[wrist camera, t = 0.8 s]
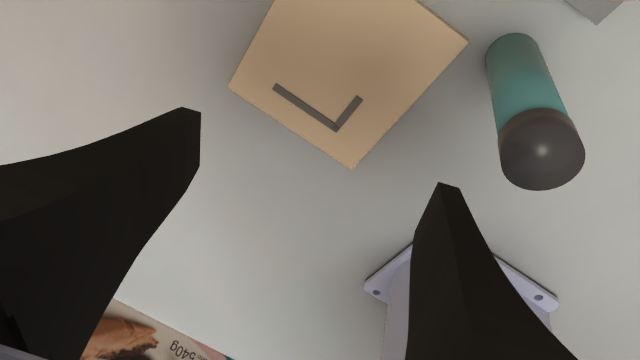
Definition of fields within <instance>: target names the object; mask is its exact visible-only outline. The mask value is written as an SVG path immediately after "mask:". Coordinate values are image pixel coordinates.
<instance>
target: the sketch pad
mask: <svg viewBox="0 0 640 360" xmlns="http://www.w3.org/2000/svg"><path fill="white" fill-rule="evenodd" d="M468 43H469V40H468V39H467V38H465V37H464V36H463V35H462V34H460V33H459V32H458V31H456V30H455V29H454V28H452V27H451V26H450V25H449V24H447V23H446V22H445V21H443V20H442V19H441V18H440V17H438V16H437V15H436V14H434V13H433V12H432V11H430V10H429V9H428V8H427V7H425V6H424V5H423V4H421V3H420V2H419V1H418V0H274V2H273V4H272V6H271V8H270V10H269V11H268V13H267V15H266V17H265V19H264V20H263V22H262V24H261V26H260V28H259V30H258V31H257V33H256V35H255V37H254V39H253V41H252V42H251V44H250V46H249V48H248V50H247V51H246V53H245V55H244V57H243V59H242V61H241V62H240V64H239V66H238V68H237V70H236V72H235V73H234V75H233V77H232V79H231V81H230V82H229V84H228V86H227V88H229V89H230V90H232V91H233V92H235V93H236V94H238V95H239V96H241V97H242V98H244V99H245V100H247V101H248V102H250V103H251V104H253V105H254V106H256V107H257V108H259V109H260V110H262V111H263V112H265V113H266V114H268V115H269V116H271V117H272V118H274V119H275V120H277V121H278V122H280V123H281V124H283V125H284V126H286V127H287V128H289V129H290V130H292V131H293V132H295V133H296V134H298V135H299V136H301V137H302V138H304V139H305V140H307V141H308V142H310V143H311V144H313V145H314V146H316V147H317V148H319V149H320V150H322V151H323V152H325V153H327V154H328V155H330V156H331V157H333V158H334V159H336V160H337V161H339V162H340V163H342V164H343V165H345V166H346V167H348V168H349V169H351V170H352V169H353V168H354V167H355V166H356V165H357V164H358V162H359V161H360V160H361V159H362V158H363V157H364V156H365V155H366V154H367V153H368V152H369V151H370V149H371V148H372V147H373V146H374V145H375V144H376V143H377V142H378V141H379V140H380V139H381V138H382V136H383V135H384V134H385V133H386V132H387V131H388V130H389V129H390V128H391V127H392V126H393V125H394V123H395V122H396V121H397V120H398V119H399V118H400V117H401V116H402V115H403V114H404V113H405V112H406V110H407V109H408V108H409V107H410V106H411V105H412V104H413V103H414V102H415V101H416V100H417V99H418V97H419V96H420V95H421V94H422V93H423V92H424V91H425V90H426V89H427V88H428V87H429V86H430V84H431V83H432V82H433V81H434V80H435V79H436V78H437V77H438V76H439V75H440V74H441V73H442V71H443V70H444V69H445V68H446V67H447V66H448V65H449V64H450V63H451V62H452V61H453V60H454V58H455V57H456V56H457V55H458V54H459V53H460V52H461V51H462V50H463V49H464V48H465V47H466V45H467V44H468Z"/></svg>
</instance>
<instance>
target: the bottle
mask: <svg viewBox="0 0 640 360" xmlns="http://www.w3.org/2000/svg"><path fill="white" fill-rule="evenodd" d="M485 64H486V70H487V76H488V82H489V87H490V93H491V99H492V105H493V111H494V116H495V122H496V128H497V134H498V149H499V155H500V161H501V167H502V171H503V173H504V175H505V176H506V178H507V179H508V180H509V181H510V182H511V183H513V184H514V185H516V186H518V187H520V188H523V189H527V190H534V191H541V190H549V189H553V188H557V187H559V186H562V185H564V184H566V183H567V182H569V181H570V180H572V179H573V178H574V177H575V176H576V175H577V174H578V173H579V171H580V170H581V168H582V167H583V164H584V161H585V149H584V146H583V144H582V141H581V139H580V137H579V135H578V132H577V130H576V128H575V126H574V124H573V122H572V120H571V119H570V118H569V116H568V114H567V112H566V109H565V107H564V105H563V102H562V100H561V98H560V96H559V93H558V91H557V89H556V86H555V84H554V82H553V79H552V77H551V75H550V72H549V70H548V68H547V66H546V63H545V61H544V59H543V56H542V54H541V52H540V49H539V47H538V45H537V43H536V42H535V40H533V39H532V38H531V37H530V36H528V35H525V34H521V33H512V34H508V35H505V36H502V37H501V38H499V39H497V40H496V41H495V42H494V43H493V44H492V45H491V46H490V48H489V49H488V51H487V54H486V58H485Z"/></svg>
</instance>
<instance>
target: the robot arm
mask: <svg viewBox="0 0 640 360" xmlns="http://www.w3.org/2000/svg"><path fill="white" fill-rule="evenodd" d="M200 130H201V112H198V111H194V110H191V109H187V108H184V107H180V108H177V109H174V110H172V111H170V112H167V113H165V114H163V115H160V116H158V117H156V118H153V119H151V120H149V121H147V122H144V123H142V124H140V125H137V126H135V127H132V128H130V129H128V130H125V131H123V132H120V133H118V134H115V135H112V136H110V137H107V138H104V139H102V140H99V141H96V142H94V143H91V144H88V145H85V146H82V147H78V148H75V149H72V150H68V151H64V152H61V153H57V154H53V155H50V156H45V157H40V158H36V159H31V160H26V161H22V162H17V163H12V164H6V165H0V360H80V358H81V356H82V354H83V352H84V350H85V348H86V346H87V344H88V342H89V340H90V338H91V336H92V334H93V333H94V331H95V329H96V327H97V325H98V323H99V321H100V319H101V318H102V316H103V314H104V312H105V310H106V308H107V307H108V305H109V303H110V301H111V300H112V298H113V296H114V294H115V293H116V291H117V289H118V287H119V286H120V284H121V282H122V280H123V279H124V277H125V275H126V274H127V272H128V270H129V269H130V267H131V265H132V264H133V262H134V260H135V259H136V257H137V256H138V254H139V253H140V251H141V250H142V249H143V247H144V246H145V244H146V243H147V242H148V240H149V239H150V238H151V237H152V235H153V234H154V233H155V231H156V230H157V229H158V227H159V226H160V225H161V224H162V222H163V221H164V220H165V218H166V217H167V216H168V214H169V213H170V212H171V211H172V209H173V208H174V207H175V205H176V204H177V203H178V201H179V200H180V199H181V197H182V196H183V195H184V193H185V192H186V190H187V188H188V187H189V185H190V183H191V181H192V179H193V178H194V176H195V174H196V172H197V170H198V168H199V166H200ZM363 289H364V290H365V291H366V292H367V293H369V294H371V295H372V296H374V297H375V298H377V299H379V300H380V301H382V302H384V303H385V304H387V305H388V306H387V314H386V323H385V331H384V339H383V347H382V355H381V360H578V359H577V358H576V357H575V356H574V355H573V354H572V353H571V352H570V351H569V350H568V349H567V348H566V347H565V346H564V345H563V344H562V343H561V342H560V341H559V340H558V339H557V338H556V337H555V336H554V335H553V333H552V329H551V324H550V319H549V314H548V313H550V312H552V311H554V310H556V309H557V308H559V306H560V304H559V300H558V299H557V298H556V297H555V296H553V295H552V294H550V293H549V292H547V291H546V290H544V289H543V288H541V287H540V286H538V285H537V284H536V283H534V282H533V281H531V280H530V279H528V278H527V277H525V276H524V275H522V274H521V273H519V272H518V271H516V270H515V269H513V268H512V267H510V266H509V265H507V264H506V263H504V262H503V261H501V260H500V259H498V258H497V257H495V256H494V255H493V254H492V252H491V251H490V249H489V247H488V245H487V244H486V242H485V240H484V238H483V236H482V234H481V232H480V230H479V229H478V227H477V225H476V223H475V220H474V218H473V216H472V214H471V212H470V210H469V208H468V206H467V204H466V202H465V199H464V197H463V195H462V193H461V191H460V189H459V188H457V187H454V186H450V185H447V184H443V183H440V182H438V183H437V186H436V188H435V190H434V192H433V194H432V196H431V198H430V200H429V203H428V205H427V207H426V209H425V211H424V213H423V215H422V217H421V219H420V222H419V224H418V226H417V228H416V230H415V234H414V240H413V244H412V245H411V246H409V247H408V248H407V249H406V250H404V251H403V252H402V253H400V254H399V255H398V256H397V257H395V258H394V259H393V260H392V261H390V262H389V263H388V264H387V265H385V266H384V267H383V268H382V269H380V270H379V271H378V272H376V273H375V274H374V275H373V276H371V277H370V278H369V279H368V280H366V281H365V282H364V286H363ZM376 290H378V291H376ZM95 360H106V359H101V358H99V359H95Z"/></svg>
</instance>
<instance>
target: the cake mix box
mask: <svg viewBox="0 0 640 360" xmlns="http://www.w3.org/2000/svg"><path fill="white" fill-rule="evenodd" d="M99 358H101V359H106V360H233V359H231V358H229V357H227V356H226V355H224V354H222V353H220V352H218V351H216V350H214V349H212V348H210V347H208V346H206V345H204V344H202V343H200V342H198V341H196V340H194V339H192V338H190V337H188V336H186V335H184V334H182V333H180V332H178V331H176V330H174V329H172V328H170V327H168V326H166V325H164V324H162V323H161V322H159V321H157V320H155V319H153V318H151V317H149V316H147V315H145V314H143V313H141V312H139V311H137V310H135V309H133V308H131V307H129V306H127V305H125V304H123V303H121V302H119V301H117V300H115V299H113V298H112V300H111V301H110V303H109V305H108V307H107V308H106V310H105V312H104V314H103V316H102V318H101V319H100V321H99V323H98V325H97V327H96V329H95V331H94V333H93V334H92V336H91V338H90V340H89V342H88V344H87V346H86V348H85V350H84V352H83V354H82V356H81V358H80V360H95V359H99Z"/></svg>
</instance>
